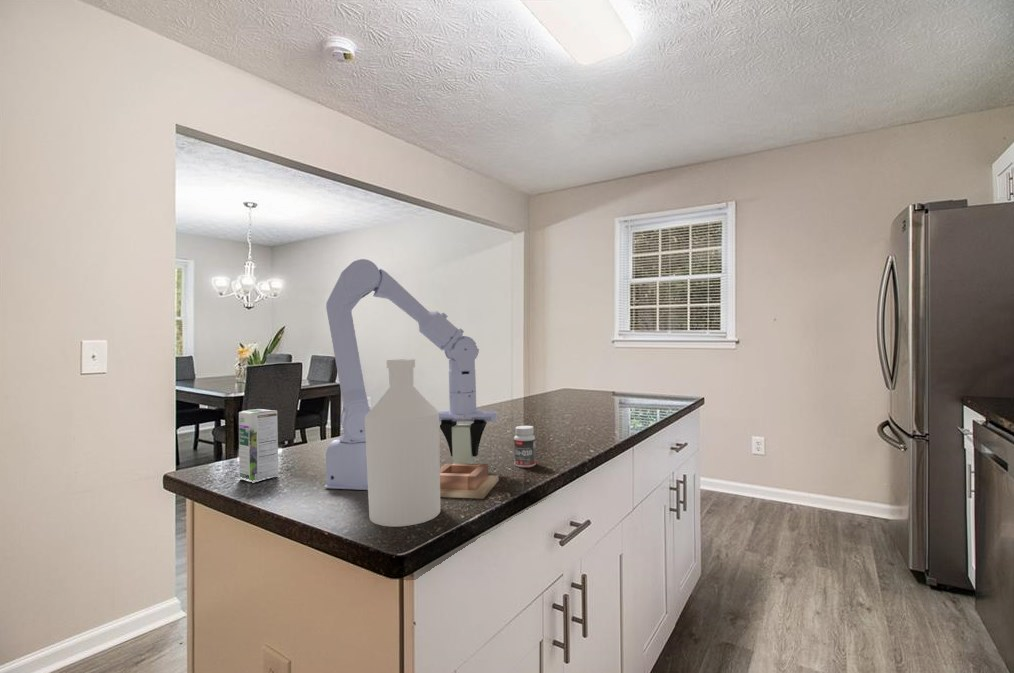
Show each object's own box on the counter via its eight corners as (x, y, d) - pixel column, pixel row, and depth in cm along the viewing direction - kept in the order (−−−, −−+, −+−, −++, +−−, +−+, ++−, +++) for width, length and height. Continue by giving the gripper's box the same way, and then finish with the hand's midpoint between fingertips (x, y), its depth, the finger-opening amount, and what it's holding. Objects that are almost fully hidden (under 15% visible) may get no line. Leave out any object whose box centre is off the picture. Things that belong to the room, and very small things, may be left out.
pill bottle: (513, 467, 106) (511, 429, 106) (516, 462, 111) (515, 425, 111) (534, 467, 105) (533, 429, 105) (537, 462, 110) (535, 425, 110)
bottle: (410, 497, 88) (406, 358, 88) (457, 509, 80) (452, 358, 81) (352, 516, 79) (348, 361, 79) (398, 533, 71) (393, 361, 71)
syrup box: (238, 480, 103) (236, 411, 103) (265, 473, 107) (263, 407, 108) (252, 484, 99) (250, 413, 99) (280, 477, 104) (278, 409, 104)
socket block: (419, 495, 88) (419, 476, 88) (441, 478, 99) (440, 461, 99) (483, 498, 86) (482, 478, 86) (498, 480, 96) (498, 462, 96)
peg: (452, 465, 103) (451, 427, 103) (458, 460, 107) (457, 423, 107) (470, 465, 102) (469, 427, 102) (476, 461, 106) (475, 424, 106)
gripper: (424, 394, 102) (425, 459, 102) (492, 393, 100) (494, 460, 100) (434, 390, 109) (436, 451, 109) (498, 389, 107) (500, 452, 107)
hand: (464, 455), depth 105 cm, fingers closed on peg, 4 cm apart
